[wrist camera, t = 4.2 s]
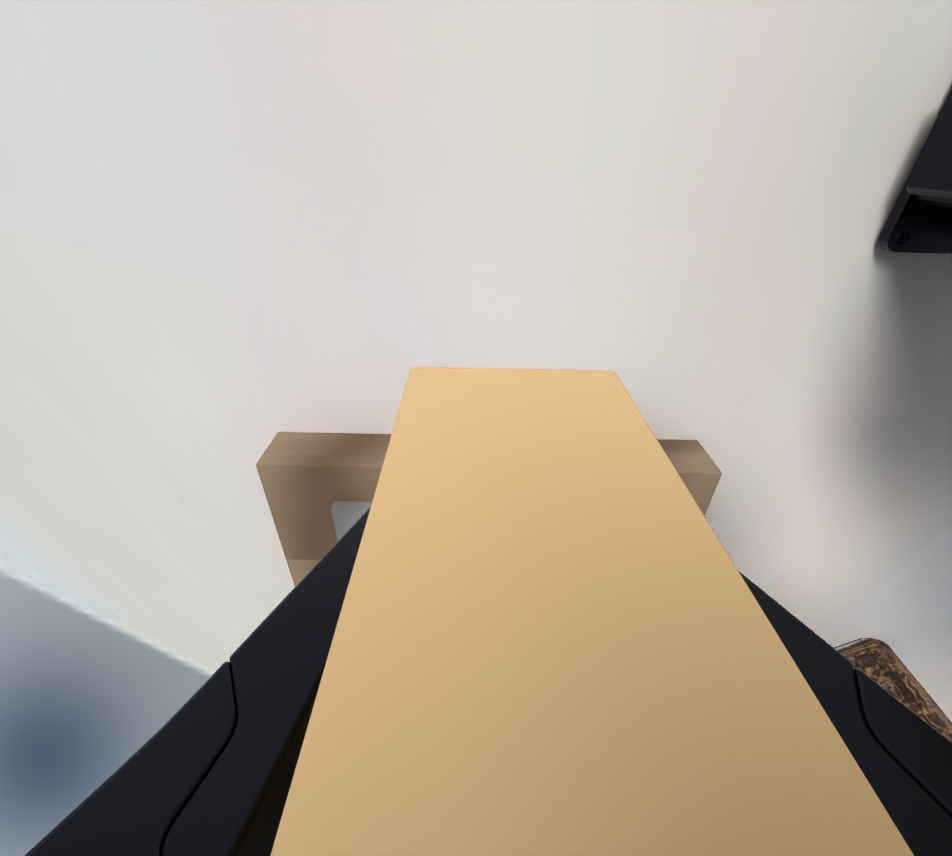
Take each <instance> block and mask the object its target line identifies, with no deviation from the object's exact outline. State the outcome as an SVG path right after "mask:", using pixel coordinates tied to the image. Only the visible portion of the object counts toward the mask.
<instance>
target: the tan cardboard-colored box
mask: <svg viewBox="0 0 952 856" xmlns="http://www.w3.org/2000/svg"><path fill="white" fill-rule="evenodd" d="M271 856H914V855H913V853H912V852H911V850H910V848H909V847H908V845H907V844H906V842H905V840H904V839H903V837H902V835H901V834H900V832H899V831H898V829H897V827H896V826H895V824H894V822H893V821H892V819H891V818H890V816H889V814H888V813H887V811H886V810H885V808H884V806H883V805H882V803H881V801H880V800H879V798H878V797H877V795H876V793H875V792H874V790H873V788H872V787H871V785H870V784H869V782H868V780H867V779H866V777H865V776H864V774H863V772H862V771H861V769H860V767H859V766H858V764H857V763H856V761H855V759H854V758H853V756H852V754H851V753H850V751H849V750H848V748H847V746H846V745H845V743H844V742H843V740H842V738H841V737H840V735H839V733H838V732H837V730H836V729H835V727H834V725H833V724H832V722H831V720H830V719H829V717H828V716H827V714H826V712H825V711H824V709H823V708H822V706H821V704H820V703H819V701H818V699H817V698H816V696H815V695H814V693H813V691H812V690H811V688H810V686H809V685H808V683H807V682H806V680H805V678H804V677H803V675H802V674H801V672H800V670H799V669H798V667H797V665H796V664H795V662H794V661H793V659H792V657H791V656H790V654H789V652H788V651H787V649H786V648H785V646H784V644H783V643H782V641H781V640H780V638H779V636H778V635H777V633H776V631H775V630H774V628H773V627H772V625H771V623H770V622H769V620H768V618H767V617H766V615H765V614H764V612H763V610H762V609H761V607H760V606H759V604H758V602H757V601H756V599H755V597H754V596H753V594H752V593H751V591H750V589H749V588H748V586H747V584H746V583H745V581H744V580H743V578H742V576H741V575H740V573H739V572H738V570H737V568H736V567H735V565H734V563H733V562H732V560H731V559H730V557H729V555H728V554H727V552H726V550H725V549H724V547H723V546H722V544H721V542H720V541H719V539H718V538H717V536H716V534H715V533H714V531H713V529H712V528H711V526H710V525H709V523H708V521H707V520H706V518H705V516H704V515H703V513H702V512H701V510H700V508H699V507H698V505H697V504H696V502H695V500H694V499H693V497H692V495H691V494H690V492H689V491H688V489H687V487H686V486H685V484H684V482H683V481H682V479H681V478H680V476H679V474H678V473H677V471H676V470H675V468H674V466H673V465H672V463H671V461H670V460H669V458H668V457H667V455H666V453H665V452H664V450H663V448H662V447H661V445H660V444H659V442H658V440H657V439H656V437H655V435H654V434H653V432H652V431H651V429H650V427H649V426H648V424H647V423H646V421H645V419H644V418H643V416H642V414H641V413H640V411H639V410H638V408H637V406H636V405H635V403H634V401H633V400H632V398H631V397H630V395H629V393H628V392H627V390H626V389H625V387H624V385H623V384H622V382H621V380H620V379H619V377H618V376H617V374H616V372H615V371H595V370H546V369H498V368H449V367H411V369H410V373H409V376H408V380H407V383H406V387H405V390H404V394H403V397H402V401H401V404H400V408H399V411H398V414H397V418H396V421H395V425H394V428H393V432H392V435H391V439H390V442H389V446H388V449H387V453H386V456H385V460H384V463H383V467H382V470H381V474H380V477H379V480H378V484H377V487H376V491H375V494H374V498H373V501H372V505H371V508H370V512H369V515H368V519H367V522H366V526H365V529H364V533H363V536H362V540H361V543H360V546H359V550H358V553H357V557H356V560H355V564H354V567H353V571H352V574H351V578H350V581H349V585H348V588H347V592H346V595H345V599H344V602H343V606H342V609H341V612H340V616H339V619H338V623H337V626H336V630H335V633H334V637H333V640H332V644H331V647H330V651H329V654H328V658H327V661H326V665H325V668H324V672H323V675H322V678H321V682H320V685H319V689H318V692H317V696H316V699H315V703H314V706H313V710H312V713H311V717H310V720H309V724H308V727H307V731H306V734H305V738H304V741H303V744H302V748H301V751H300V755H299V758H298V762H297V765H296V769H295V772H294V776H293V779H292V783H291V786H290V790H289V793H288V797H287V800H286V803H285V807H284V810H283V814H282V817H281V821H280V824H279V828H278V831H277V835H276V838H275V842H274V845H273V849H272V852H271Z"/></svg>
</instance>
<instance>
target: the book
mask: <svg viewBox="0 0 952 856" xmlns="http://www.w3.org/2000/svg"><path fill="white" fill-rule="evenodd" d="M834 649H835V650H836V651H838V652H839V653H840V654H841V655H843V656H844V657H845V658H846V659H848V660H849V661H850V662H851V663H852V664H853V666H854V668H858V669H860V670H861V671H863V672H864V673H865V674H866V675H868V676H869V677H870V678H871V679H873V680H874V681H875V682H876V683H877V684H879V685H880V686H881V687H882V688H884V689H885V690H886V691H887V692H889V693H890V694H891V695H892V696H894V697H895V698H896V699H897V700H899V701H900V702H901V703H902V704H904V705H905V706H906V707H908V708H909V709H910V710H911V711H913V712H914V713H915V714H916V715H918V716H919V717H920V718H922V719H923V720H924V721H925V722H927V723H928V724H929V725H930V726H932V727H933V728H934V729H935V730H937V731H938V732H939V733H941V734H942V735H943V736H945V737H946V738H947V739H949V740H950V741H951V742H952V722H951V721H950V720H949V719H948V717H947V716H946V715H945V714H944V712H943V711H942V710H941V709H940V708H939V706H938V705H937V704H936V703H935V702H934V700H933V699H932V698H931V697H930V695H929V694H928V693H927V692H926V691H925V689H924V688H923V687H922V686H921V685H920V683H919V682H918V681H917V680H916V678H915V677H914V676H913V675H912V674H911V672H910V671H909V670H908V669H907V668H906V666H905V665H904V664H903V663H902V661H901V660H900V659H899V658H898V657H897V655H896V654H895V653H894V652H893V650H892V649H891V648H890V647H889V646H888V645H887V644H886V643H884V642H882V641H880V640H876V639H869V638H864V639H859V640H857V641H854V642H851V643H848V644H845V645H843V646H840V647H837V648H834Z"/></svg>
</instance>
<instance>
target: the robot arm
mask: <svg viewBox="0 0 952 856" xmlns="http://www.w3.org/2000/svg"><path fill="white" fill-rule="evenodd" d="M901 231H902V235H901V236H900V238H899V239H898V240H896V241H895V239H896V236H897V235H898V234H899V233H900V232H901ZM879 246H880V247H881V248H882V249H885V250H889V251H893V252H911V253H951V254H952V91H951V93H950V95H949V97H948V99H947V101H946V103H945V105H944V107H943V109H942V111H941V113H940V115H939V117H938V119H937V121H936V123H935V125H934V127H933V129H932V131H931V133H930V135H929V137H928V139H927V141H926V143H925V145H924V147H923V149H922V151H921V154H920V156H919V158H918V160H917V162H916V164H915V166H914V168H913V170H912V172H911V174H910V176H909V178H908V180H907V182H906V184H905V186H904V188H903V190H902V192H901V194H900V196H899V198H898V200H897V202H896V204H895V206H894V208H893V210H892V212H891V214H890V216H889V219H888V221H887V223H886V225H885V227H884V229H883V231H882V233H881V235H880V238H879ZM370 508H371V506H370ZM370 508H369V509H368V510H367V511H366V512H365V513H364V514H363V515H362V516H361V517H360V518H359V519H358V520H357V521H356V523H355V524H354V525H353V526H352V527H351V528H350V529H349V530H348V531H347V532H346V533H345V534H344V535H343V536H342V538H341V539H340V540H339V541H338V542H337V543H336V544H335V545H334V546H333V547H332V548H331V549H330V550H329V551H328V552H327V554H326V555H325V556H324V557H323V558H322V559H321V560H320V561H319V562H318V563H317V564H316V565H315V566H314V567H313V569H312V570H311V571H310V572H309V573H308V574H307V575H306V576H305V577H304V578H303V579H302V580H301V581H300V582H299V583H298V585H297V586H296V587H295V588H294V589H293V590H292V591H291V592H290V593H289V594H288V595H287V596H286V597H285V598H284V600H283V601H282V602H281V603H280V604H279V605H278V606H277V607H276V608H275V609H274V610H273V611H272V612H271V613H270V615H269V616H268V617H267V618H266V619H265V620H264V621H263V622H262V623H261V624H260V625H259V626H258V627H257V628H256V629H255V631H254V632H253V633H252V634H251V635H250V636H249V637H248V638H247V639H246V640H245V641H244V642H243V643H242V644H241V646H240V647H239V648H238V649H237V650H236V651H235V652H234V653H233V654H232V655H231V656H230V662H224V663H223V664H222V666H221V667H220V668H219V669H218V670H217V671H216V672H215V673H214V674H213V675H212V676H211V677H210V678H209V679H208V680H207V682H206V683H205V684H204V685H203V686H202V687H201V688H200V689H199V690H198V691H197V692H196V693H195V694H194V695H193V696H192V697H191V698H190V699H189V700H188V701H187V703H185V704H184V705H183V706H182V707H181V708H180V709H179V711H178V712H177V713H176V714H175V715H174V716H173V717H172V718H171V719H170V720H169V721H168V722H167V723H166V724H165V725H164V726H163V727H162V728H161V729H160V730H159V731H158V732H157V733H156V734H154V735H153V737H151V738H150V739H149V740H148V741H147V742H146V743H145V744H144V745H143V746H142V747H141V748H140V749H139V750H138V751H137V752H136V753H135V754H134V755H132V757H131V758H129V759H128V760H127V761H126V762H125V763H124V764H123V765H122V766H121V767H120V768H119V769H118V770H117V771H116V772H115V773H114V774H113V775H111V776H110V777H109V778H108V779H107V780H106V781H105V782H104V783H103V784H102V785H101V786H100V787H99V788H97V789H96V790H95V791H94V792H93V793H92V794H91V795H90V796H89V797H88V798H87V799H85V801H83V802H82V803H81V804H80V805H79V806H78V807H77V808H76V809H75V810H74V811H72V813H70V814H69V815H68V816H67V817H66V818H65V819H64V820H63V821H62V822H61V823H59V825H57V826H56V827H55V828H54V829H53V830H52V831H51V832H50V833H49V834H48V835H46V836H45V837H44V838H43V839H42V840H41V841H40V842H39V843H38V844H37V845H36V846H35V847H33V848H32V849H31V850H30V851H29V852H28V853H27V854H26V855H25V856H271V852H272V849H273V845H274V842H275V838H276V835H277V831H278V828H279V824H280V821H281V817H282V814H283V810H284V807H285V803H286V800H287V797H288V793H289V790H290V786H291V783H292V779H293V776H294V772H295V769H296V765H297V762H298V758H299V755H300V751H301V748H302V744H303V741H304V738H305V734H306V731H307V727H308V724H309V720H310V717H311V713H312V710H313V706H314V703H315V699H316V696H317V692H318V689H319V685H320V682H321V678H322V675H323V672H324V668H325V665H326V661H327V658H328V654H329V651H330V647H331V644H332V640H333V637H334V633H335V630H336V626H337V623H338V619H339V616H340V612H341V609H342V606H343V602H344V599H345V595H346V592H347V588H348V585H349V581H350V578H351V574H352V571H353V567H354V564H355V560H356V557H357V553H358V550H359V546H360V543H361V540H362V536H363V533H364V529H365V526H366V522H367V519H368V515H369V512H370ZM738 572H739V571H738ZM739 573H740V572H739ZM740 575H741V576H742V578H743V580H744V581H745V583H746V584H747V586H748V588H749V589H750V591H751V593H752V594H753V596H754V597H755V599H756V601H757V602H758V604H759V606H760V607H761V609H762V610H763V612H764V614H765V615H766V617H767V618H768V620H769V622H770V623H771V625H772V627H773V628H774V630H775V631H776V633H777V635H778V636H779V638H780V640H781V641H782V643H783V644H784V646H785V648H786V649H787V651H788V652H789V654H790V656H791V657H792V659H793V661H794V662H795V664H796V665H797V667H798V669H799V670H800V672H801V674H802V675H803V677H804V678H805V680H806V682H807V683H808V685H809V686H810V688H811V690H812V691H813V693H814V695H815V696H816V698H817V699H818V701H819V703H820V704H821V706H822V708H823V709H824V711H825V712H826V714H827V716H828V717H829V719H830V720H831V722H832V724H833V725H834V727H835V729H836V730H837V732H838V733H839V735H840V737H841V738H842V740H843V742H844V743H845V745H846V746H847V748H848V750H849V751H850V753H851V754H852V756H853V758H854V759H855V761H856V763H857V764H858V766H859V767H860V769H861V771H862V772H863V774H864V776H865V777H866V779H867V780H868V782H869V784H870V785H871V787H872V788H873V790H874V792H875V793H876V795H877V797H878V798H879V800H880V801H881V803H882V805H883V806H884V808H885V810H886V811H887V813H888V814H889V816H890V818H891V819H892V821H893V822H894V824H895V826H896V827H897V829H898V831H899V832H900V834H901V835H902V837H903V839H904V840H905V842H906V844H907V845H908V847H909V848H910V850H911V852H912V853H913V855H914V856H952V742H951V741H950V740H949V739H947V738H946V737H945V736H943V735H942V734H941V733H939V732H938V731H937V730H935V729H934V728H933V727H932V726H930V725H929V724H928V723H927V722H925V721H924V720H923V719H922V718H920V717H919V716H918V715H916V714H915V713H914V712H913V711H911V710H910V709H909V708H908V707H906V706H905V705H904V704H902V703H901V702H900V701H899V700H897V699H896V698H895V697H894V696H892V695H891V694H890V693H889V692H887V691H886V690H885V689H884V688H882V687H881V686H880V685H879V684H877V683H876V682H875V681H874V680H873V679H871V678H870V677H869V676H868V675H866V674H865V673H864V672H863V671H861V670H860V669H858V668H854V666H853V664H852V663H851V662H850V661H849V660H848V659H846V658H845V657H844V656H843V655H841V654H840V653H839V652H838V651H836V650H835V649H834V648H833V647H832V646H830V645H829V644H828V643H827V642H825V641H824V640H823V639H822V638H820V637H819V636H818V635H817V634H816V633H814V632H813V631H812V630H811V629H809V628H808V627H807V626H806V625H804V624H803V623H802V622H801V621H800V620H798V619H797V618H796V617H795V616H793V615H792V614H791V613H790V612H788V611H787V610H786V609H785V608H784V607H782V606H781V605H780V604H779V603H777V602H776V601H775V600H774V599H772V598H771V597H770V596H769V595H768V594H766V593H765V592H764V591H763V590H761V589H760V588H759V587H758V586H756V585H755V584H754V583H753V582H751V581H750V580H749V579H748V578H747V577H745V576H744V575H743V574H742V573H740Z"/></svg>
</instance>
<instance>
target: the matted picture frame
mask: <svg viewBox="0 0 952 856" xmlns="http://www.w3.org/2000/svg"><path fill="white" fill-rule="evenodd" d="M391 435H392V434H344V433H292V432H278V433H277V435H276V436H275V438H274V439H273V441H272V442H271V444H270V445H269V446H268V448H267V449H266V451H265V452H264V454H263V455H262V457H261V458H260V460H259V461H258V462H257V464H256V467H257V470H258V473H259V476H260V479H261V482H262V485H263V488H264V492H265V495H266V498H267V501H268V504H269V507H270V510H271V513H272V517H273V520H274V523H275V526H276V529H277V532H278V535H279V538H280V542H281V545H282V548H283V551H284V554H285V557H286V560H287V563H288V566H289V570H290V573H291V576H292V579H293V582H294V585H295V587H296V586H297V585H298V583H299V582H300V581H301V580H302V579H303V578H304V577H305V576H306V575H307V574H308V573H309V572H310V571H311V570H312V569H313V567H314V566H315V565H316V564H317V563H318V562H319V561H320V560H321V559H322V558H323V557H324V556H325V555H326V554H327V552H328V551H329V550H330V549H331V548H332V547H333V546H334V545H335V544H336V543H337V542H338V541H339V540H340V539H341V538H342V536H343V535H344V534H345V533H346V532H347V531H348V530H349V529H350V528H351V527H352V526H353V525H354V524H355V523H356V521H357V520H358V519H359V518H360V517H361V516H362V515H363V514H364V513H365V512H366V511H367V510H368V509H369V508H370V506H371V505H372V501H373V498H374V494H375V491H376V487H377V484H378V480H379V477H380V474H381V470H382V467H383V463H384V460H385V456H386V453H387V449H388V446H389V442H390V439H391ZM658 442H659V444H660V445H661V447H662V448H663V450H664V452H665V453H666V455H667V457H668V458H669V460H670V461H671V463H672V465H673V466H674V468H675V470H676V471H677V473H678V474H679V476H680V478H681V479H682V481H683V482H684V484H685V486H686V487H687V489H688V491H689V492H690V494H691V495H692V497H693V499H694V500H695V502H696V504H697V505H698V507H699V508H700V510H701V512H702V513H703V515H705V512H706V510H707V508H708V505H709V503H710V501H711V498H712V496H713V494H714V491H715V489H716V487H717V484H718V482H719V480H720V477H721V475H722V473H721V471H720V470H719V469H718V467H717V466H716V465H715V463H714V462H713V461H712V459H711V458H710V457H709V455H708V454H707V453H706V451H705V450H704V449H703V447H702V446H701V445H700V443H699V442H698V441H697V440H658Z"/></svg>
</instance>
